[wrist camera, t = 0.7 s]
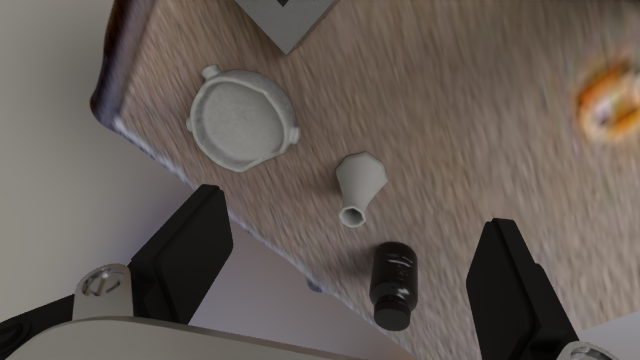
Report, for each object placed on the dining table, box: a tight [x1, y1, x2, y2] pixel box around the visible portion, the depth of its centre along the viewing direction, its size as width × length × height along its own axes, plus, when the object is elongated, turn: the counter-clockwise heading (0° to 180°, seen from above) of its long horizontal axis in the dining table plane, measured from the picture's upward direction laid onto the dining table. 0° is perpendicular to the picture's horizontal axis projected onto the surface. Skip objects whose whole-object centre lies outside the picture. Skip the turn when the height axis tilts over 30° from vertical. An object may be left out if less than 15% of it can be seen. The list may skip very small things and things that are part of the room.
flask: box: [335, 152, 388, 228], centre depth 42 cm, size 7×7×10 cm
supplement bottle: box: [369, 242, 418, 331], centre depth 48 cm, size 7×7×12 cm
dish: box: [186, 64, 301, 172], centre depth 44 cm, size 14×14×5 cm
